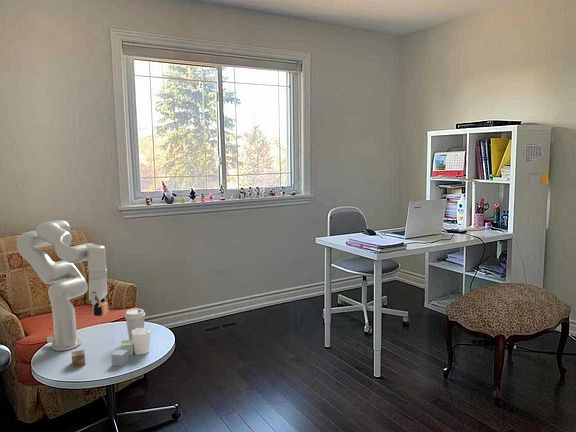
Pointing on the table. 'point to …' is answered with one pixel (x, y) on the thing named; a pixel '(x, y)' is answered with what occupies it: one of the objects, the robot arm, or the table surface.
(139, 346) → the white cup
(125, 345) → the sage block
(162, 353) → the table surface
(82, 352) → the walnut block
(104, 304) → the terracotta block
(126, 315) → the coffee cup
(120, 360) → the slate block
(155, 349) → the table surface
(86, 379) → the table surface
